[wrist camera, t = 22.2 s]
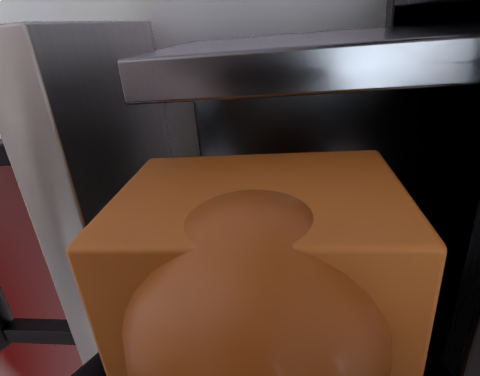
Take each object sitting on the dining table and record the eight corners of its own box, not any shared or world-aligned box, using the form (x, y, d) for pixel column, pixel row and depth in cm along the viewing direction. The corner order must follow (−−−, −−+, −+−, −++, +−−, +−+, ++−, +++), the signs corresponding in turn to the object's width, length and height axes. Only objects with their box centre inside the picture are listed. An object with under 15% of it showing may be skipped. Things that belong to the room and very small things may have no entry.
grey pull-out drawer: (60, 311, 18) (-46, 450, 12) (-41, 36, 13) (-310, 51, 7) (484, 321, 15) (606, 502, 9) (576, -17, 10) (959, -63, 4)
